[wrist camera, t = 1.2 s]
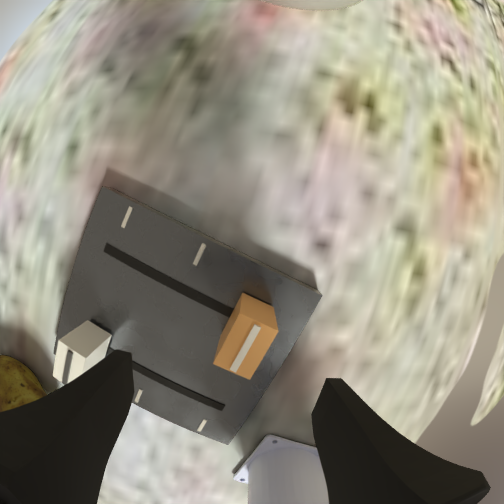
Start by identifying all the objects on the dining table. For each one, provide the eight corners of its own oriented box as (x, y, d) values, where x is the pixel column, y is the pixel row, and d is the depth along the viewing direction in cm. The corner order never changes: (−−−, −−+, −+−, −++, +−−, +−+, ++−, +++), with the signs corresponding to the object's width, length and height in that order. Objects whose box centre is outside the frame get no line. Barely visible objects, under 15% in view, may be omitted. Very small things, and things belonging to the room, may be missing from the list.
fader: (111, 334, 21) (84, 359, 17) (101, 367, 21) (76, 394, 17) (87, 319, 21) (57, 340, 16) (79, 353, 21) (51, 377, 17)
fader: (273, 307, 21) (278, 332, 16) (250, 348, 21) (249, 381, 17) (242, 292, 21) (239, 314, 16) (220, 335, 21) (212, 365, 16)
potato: (5, 322, 23) (-43, 347, 15) (87, 406, 24) (51, 452, 16) (-7, 363, 24) (-46, 389, 16) (65, 437, 25) (35, 476, 17)
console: (318, 290, 22) (322, 295, 21) (229, 434, 24) (228, 445, 23) (111, 187, 21) (101, 186, 20) (61, 347, 23) (52, 353, 22)
